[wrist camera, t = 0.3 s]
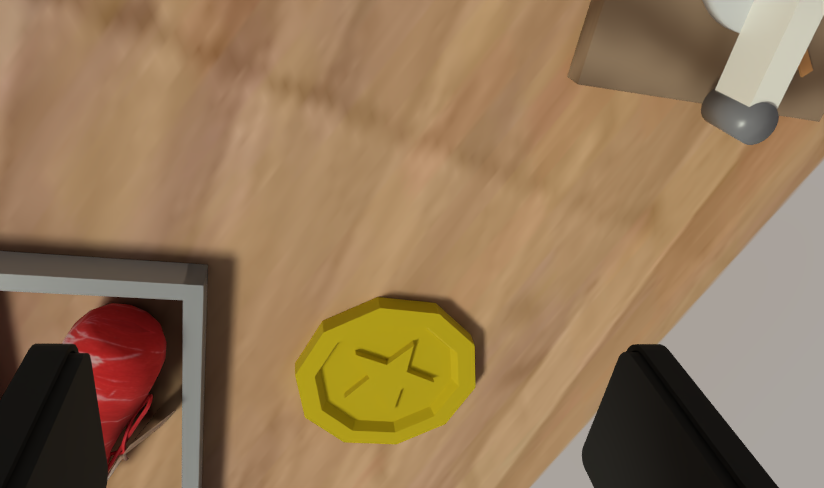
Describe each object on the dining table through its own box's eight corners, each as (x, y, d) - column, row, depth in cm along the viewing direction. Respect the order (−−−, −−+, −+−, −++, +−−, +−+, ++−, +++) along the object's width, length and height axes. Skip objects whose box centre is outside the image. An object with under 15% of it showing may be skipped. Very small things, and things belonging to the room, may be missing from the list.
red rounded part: (223, 384, 48) (108, 564, 57) (218, 317, 54) (115, 489, 63) (56, 351, 41) (-45, 561, 50) (71, 279, 47) (-21, 477, 56)
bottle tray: (-53, 247, 45) (-74, 269, 43) (208, 264, 49) (203, 285, 47) (5, 517, 60) (-8, 545, 58) (200, 512, 65) (197, 538, 62)
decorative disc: (381, 452, 65) (384, 467, 63) (257, 371, 57) (256, 386, 55) (504, 363, 61) (510, 377, 60) (391, 262, 53) (395, 274, 51)
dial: (742, -163, 38) (809, -169, 33) (880, -124, 40) (961, -124, 36) (639, 107, 46) (680, 135, 41) (759, 125, 49) (811, 153, 44)
